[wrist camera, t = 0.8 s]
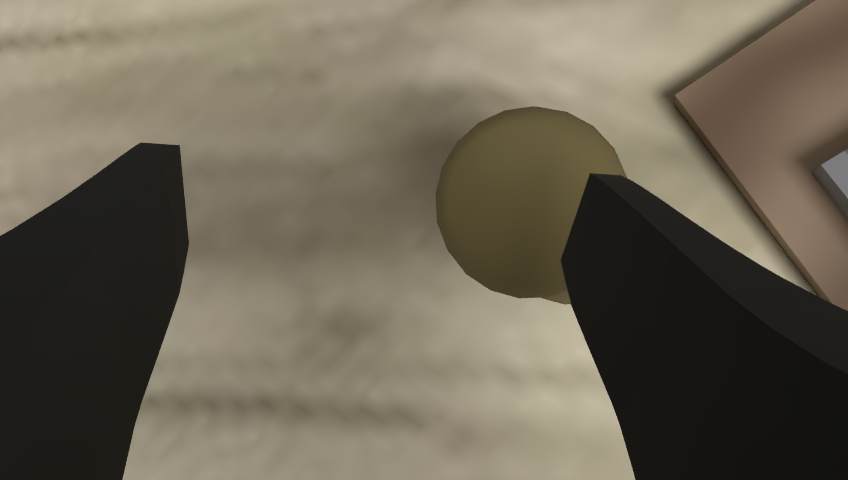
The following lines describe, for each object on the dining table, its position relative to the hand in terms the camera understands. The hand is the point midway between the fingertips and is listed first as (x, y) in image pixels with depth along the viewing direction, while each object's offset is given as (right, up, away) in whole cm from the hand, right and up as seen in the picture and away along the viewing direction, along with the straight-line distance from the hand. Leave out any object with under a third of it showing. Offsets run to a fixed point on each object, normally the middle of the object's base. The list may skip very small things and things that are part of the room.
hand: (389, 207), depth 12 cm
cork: (+7, 0, +15) cm, 16 cm away
